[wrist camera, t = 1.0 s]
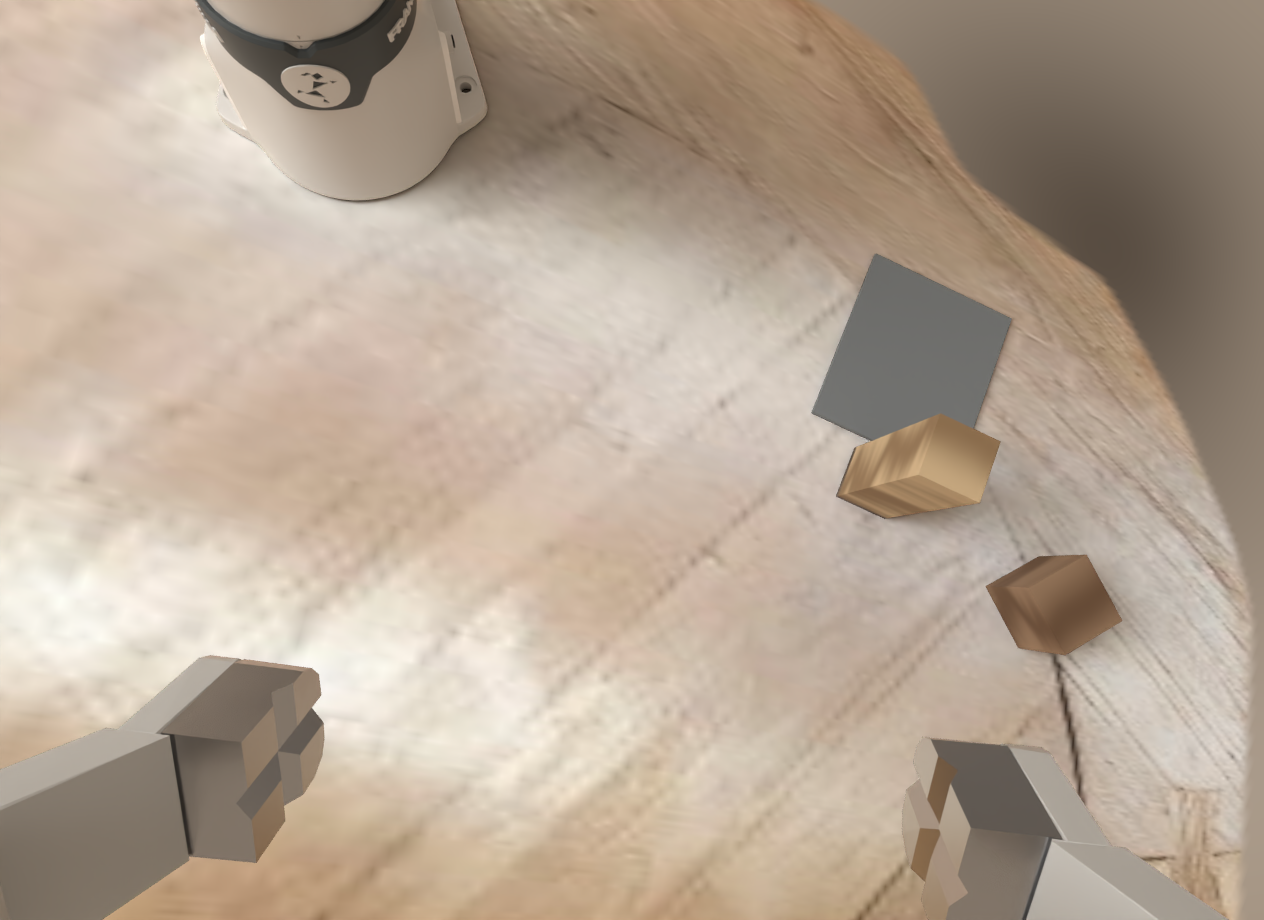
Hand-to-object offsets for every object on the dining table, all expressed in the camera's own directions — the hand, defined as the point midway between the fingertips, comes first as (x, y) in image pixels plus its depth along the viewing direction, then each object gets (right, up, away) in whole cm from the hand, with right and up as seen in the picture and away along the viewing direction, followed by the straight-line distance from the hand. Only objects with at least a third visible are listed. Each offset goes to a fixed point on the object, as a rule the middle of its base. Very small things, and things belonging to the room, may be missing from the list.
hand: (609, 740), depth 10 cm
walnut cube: (+30, -7, +45) cm, 54 cm away
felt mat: (+22, +11, +47) cm, 53 cm away
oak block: (+18, +2, +45) cm, 48 cm away
